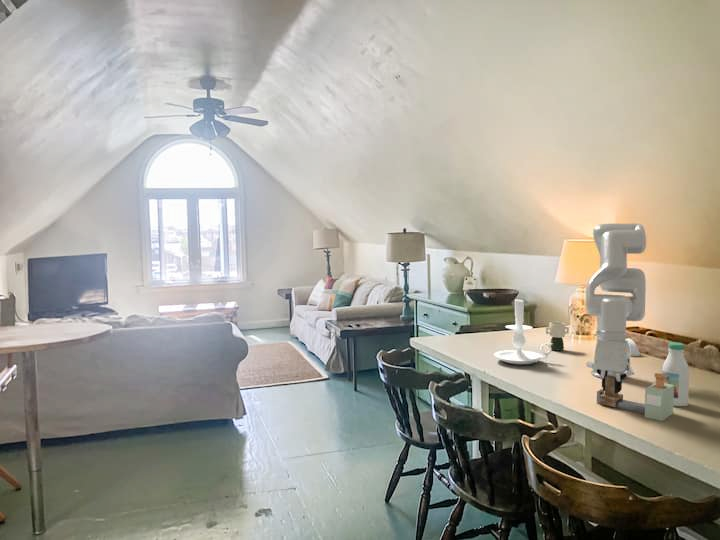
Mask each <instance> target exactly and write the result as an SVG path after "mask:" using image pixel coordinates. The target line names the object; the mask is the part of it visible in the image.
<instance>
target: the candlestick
mask: <svg viewBox="0 0 720 540" xmlns="http://www.w3.org/2000/svg"><path fill="white" fill-rule="evenodd" d="M524 303H525V301H524V300H522V298H520V299H519V298H515V299H514V316H515V324H509V325H505V328H506V329H508V330H511V331H513V332H514V334H513V336H512V338H511V343H512V345H513V346H514V347H515V350H514V349H511V350H509V349H508V350H507V349H506V350H500V351H496V352H495V353H494V354H493V355H494V357H496V358H498V360H501V361H502V362H504V363H507V364H512V365H531V364H534V363H536V362H538V361H540V360H544V359H547V358H548V356H549V354H550V353H552V350H553V349H552V348H551V345H552V344H553V343H551V342H550V343H543V344H541V346H540V352H541V353H542V354H541V353H538V352H534V351H530V350H529V351H528V350H523V349H522V348H523V347H524V346H525V344H526V341H527V340H526V337H525V335H524V332H525V331H528V330H531V329H533V326H530V325H525V324H523V323H524V322H525V320H524V316H525V314H524V313H525V311H524V309H525V308H524V307H525V304H524ZM545 346H548V347H549V350H548V351H547V352H545V351H543V347H545ZM543 354H544V356H543Z"/></svg>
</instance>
